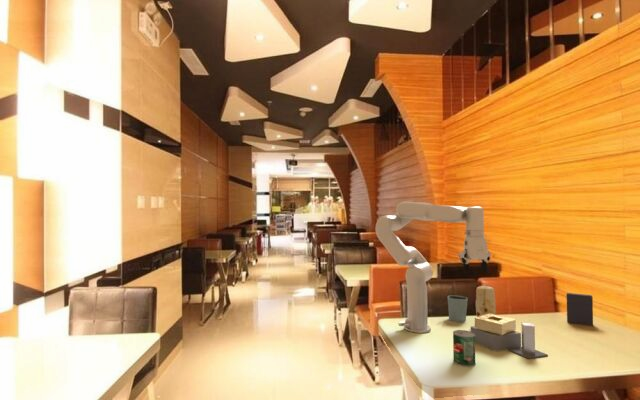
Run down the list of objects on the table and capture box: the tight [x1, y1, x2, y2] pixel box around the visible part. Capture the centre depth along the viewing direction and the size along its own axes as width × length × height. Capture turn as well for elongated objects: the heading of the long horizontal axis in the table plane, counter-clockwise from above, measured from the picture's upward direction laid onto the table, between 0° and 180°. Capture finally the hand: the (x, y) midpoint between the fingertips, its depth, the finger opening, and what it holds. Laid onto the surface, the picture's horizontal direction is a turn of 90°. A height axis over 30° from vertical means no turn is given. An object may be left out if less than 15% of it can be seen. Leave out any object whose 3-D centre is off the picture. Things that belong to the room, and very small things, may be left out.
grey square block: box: [470, 325, 522, 352], centre depth 163 cm, size 14×14×6 cm
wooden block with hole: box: [474, 314, 517, 335], centre depth 163 cm, size 14×12×4 cm
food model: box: [475, 285, 497, 317], centre depth 188 cm, size 10×7×20 cm
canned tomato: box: [452, 329, 477, 368], centre depth 142 cm, size 8×8×11 cm
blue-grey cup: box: [447, 294, 469, 323], centre depth 200 cm, size 10×10×12 cm
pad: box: [507, 346, 549, 360], centre depth 151 cm, size 10×10×1 cm
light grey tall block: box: [521, 322, 536, 354], centre depth 152 cm, size 4×4×11 cm
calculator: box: [566, 292, 594, 327], centre depth 194 cm, size 11×4×15 cm, turn 58°
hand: (475, 272), depth 168 cm, fingers open, 9 cm apart
